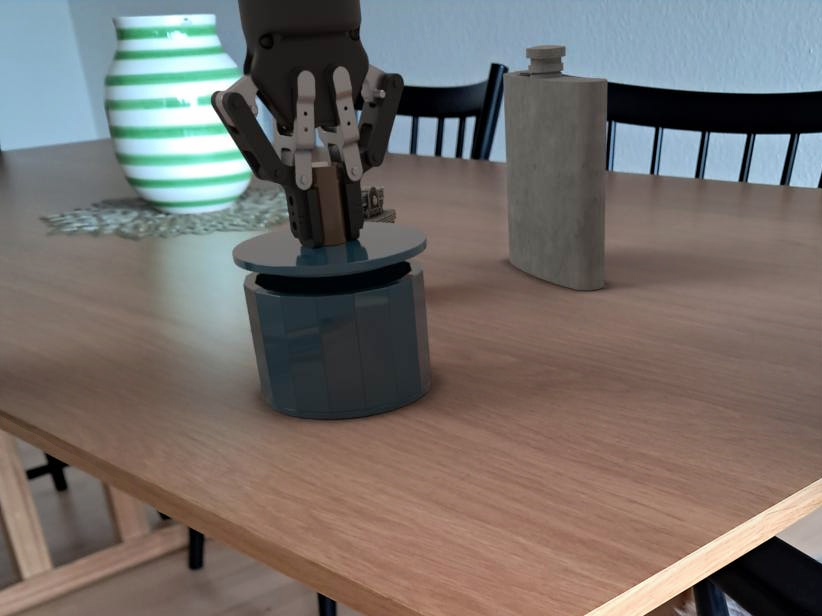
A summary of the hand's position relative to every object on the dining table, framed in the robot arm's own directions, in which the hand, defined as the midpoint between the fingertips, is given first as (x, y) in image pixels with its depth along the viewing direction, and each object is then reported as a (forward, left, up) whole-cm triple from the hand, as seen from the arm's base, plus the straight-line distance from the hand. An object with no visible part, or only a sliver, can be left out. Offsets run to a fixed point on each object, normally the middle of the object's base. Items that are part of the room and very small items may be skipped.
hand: (329, 240), depth 71 cm
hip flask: (+21, +29, -11) cm, 37 cm away
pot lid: (0, 0, -1) cm, 1 cm away
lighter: (+3, +25, -11) cm, 27 cm away
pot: (0, 0, -11) cm, 11 cm away
